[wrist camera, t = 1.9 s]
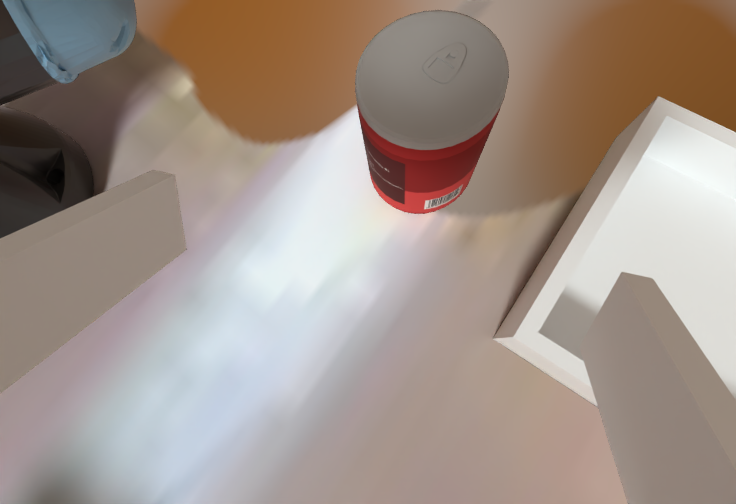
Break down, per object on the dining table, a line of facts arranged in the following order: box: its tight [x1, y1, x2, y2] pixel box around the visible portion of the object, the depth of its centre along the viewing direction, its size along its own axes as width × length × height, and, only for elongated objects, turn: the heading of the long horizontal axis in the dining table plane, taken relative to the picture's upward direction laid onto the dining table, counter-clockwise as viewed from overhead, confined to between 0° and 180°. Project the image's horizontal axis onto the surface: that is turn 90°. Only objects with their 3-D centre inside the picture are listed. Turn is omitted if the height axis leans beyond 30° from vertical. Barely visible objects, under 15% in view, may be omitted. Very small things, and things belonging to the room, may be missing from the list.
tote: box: [493, 96, 736, 407], centre depth 24 cm, size 20×18×5 cm
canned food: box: [355, 10, 509, 214], centre depth 25 cm, size 8×8×11 cm
